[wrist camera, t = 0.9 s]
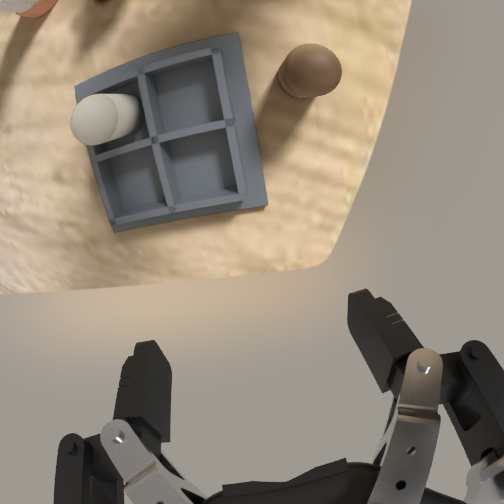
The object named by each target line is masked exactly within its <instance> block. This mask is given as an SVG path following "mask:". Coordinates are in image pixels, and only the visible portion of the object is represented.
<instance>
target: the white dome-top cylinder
mask: <svg viewBox="0 0 504 504" xmlns="http://www.w3.org/2000/svg"><path fill="white" fill-rule="evenodd" d="M144 119H145V113H144V108H143V103H142V101H141V100H140V99H139V98H138V97H137V96H135V95H132V94H93V95H90V96H88V97H86V98H84V99H83V100H81V101H80V102H79V103H78V104H77V106H76V107H75V109H74V110H73V113H72V116H71V122H70V124H71V130H72V133H73V135H74V136H75V138H76V139H77V140H78V141H80V142H81V143H83V144H86V145H98V144H102V143H105V142H108V141H111V140H114V139H117V138H120V137H124V136H127V135H130V134H133V133H135V132H136V131H137V130H138V129H139V128H140V127H141V125H142V124H143V122H144Z"/></svg>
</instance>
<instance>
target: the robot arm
mask: <svg viewBox="0 0 504 504" xmlns="http://www.w3.org/2000/svg"><path fill="white" fill-rule="evenodd" d="M347 321H348V327H349V330H350V333H351V335H352V337H353V339H354V340H355V342H356V344H357V346H358V348H359V349H360V351H361V353H362V355H363V357H364V359H365V361H366V363H367V365H368V366H369V368H370V370H371V372H372V374H373V376H374V378H375V380H376V381H377V384H378V386H379V388H380V389H381V391H382V393H384V392H387V391H389V390H391V391H392V393H393V395H394V396H393V399H392V403H391V407H390V411H389V415H388V418H387V421H386V425H385V428H384V431H383V435H382V438H381V440H380V443H379V445H378V447H377V450H376V452H375V455H374V458H373V460H372V463H371V464H369V463H362V462H350V463H347V461H346V458H344V459H341V460H338V461H334V462H331V463H328V464H325V465H322V466H318V467H315V468H313V469H311V470H310V471H308V472H306V473H304V474H302V475H300V476H298V477H296V478H293V479H291V480H289V481H287V482H258V481H250V482H243V483H236V484H227V485H222V488H223V491H220V492H218V493H216V494H214V495H212V496H210V497H207V496H205V494H203V493H202V492H201V491H200V490H199V489H198V488H197V487H195V486H194V485H193V484H191V483H190V482H189V481H188V480H187V479H186V478H185V477H184V476H183V475H182V473H180V471H179V470H178V469H177V468H176V467H175V466H174V465H173V463H172V462H171V461H170V460H169V459H168V458H167V457H166V455H165V454H164V453H163V452H162V451H161V443H162V442H170V415H171V414H170V413H171V385H172V371H171V367H170V364H169V362H168V361H167V359H166V357H165V356H164V354H163V353H162V351H161V349H160V348H159V346H158V344H157V343H156V342H155V341H154V340H151V341H145V342H139V343H136V345H135V349H134V355H133V356H129V357H128V358H127V360H126V361H125V364H124V365H123V367H122V371H121V376H120V377H121V379H120V381H119V388H118V392H117V398H116V404H115V410H114V417H113V420H112V421H110V422H108V423H107V424H106V425H105V426H104V427H103V429H102V431H101V433H100V434H97V435H95V436H91V437H88V438H85V439H83V438H82V437H81V436H79V435H77V434H74V433H71V434H68V435H66V436H64V438H63V439H62V440H61V441H60V444H59V449H58V456H57V465H56V474H55V487H54V504H124V490H125V492H126V494H127V495H128V497H129V498H130V500H131V501H132V502H133V504H504V370H503V369H502V367H501V366H500V364H499V363H498V361H497V360H496V358H495V357H494V355H493V354H492V352H491V351H490V350H489V348H488V347H487V346H486V345H485V344H484V343H482V342H480V341H477V340H472V341H468V342H467V343H465V344H464V345H463V346H462V348H461V350H460V351H459V352H453V353H447V354H438V353H437V352H436V351H434V350H432V349H428V348H424V347H423V346H422V345H421V343H420V342H419V340H418V339H417V338H416V336H415V335H414V333H413V332H412V331H411V329H410V328H409V327H408V325H407V324H406V323H405V321H403V318H402V317H401V316H400V315H399V314H398V313H397V311H396V309H395V308H394V307H393V305H392V304H391V303H390V302H388V301H386V300H385V299H383V298H382V297H379V298H376V299H375V298H374V297H373V296H372V294H371V293H370V291H369V290H368V289H363V290H359V291H356V292H353V293H350V294H349V295H348V316H347ZM439 404H443V405H444V407H445V409H446V411H447V413H448V415H449V417H450V419H451V422H452V424H453V426H454V427H455V430H456V432H457V434H458V437H459V439H460V441H461V443H462V445H463V447H464V450H465V452H466V455H467V457H468V459H469V462H470V464H471V469H470V470H469V472H468V474H467V479H466V485H467V495H466V497H465V499H464V501H461V500H458V499H455V498H452V497H449V496H447V495H444V494H441V493H439V492H436V491H433V490H431V489H429V488H426V487H425V486H426V482H427V479H428V476H429V472H430V468H431V465H432V461H433V456H434V452H435V448H436V443H437V439H438V434H439V428H440V422H441V417H440V415H438V405H439ZM123 479H124V481H125V483H126V485H124V484H123V483H124V482H123Z"/></svg>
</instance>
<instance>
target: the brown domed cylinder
mask: <svg viewBox="0 0 504 504" xmlns="http://www.w3.org/2000/svg"><path fill="white" fill-rule="evenodd" d="M341 75H342V69H341V64H340V62H339V60H338V58H337V57H336V55H335V54H334V53H333V52H332V51H331V50H329V49H328V48H326V47H324V46H321V45H318V44H304V45H300V46H298V47H296V48H294V49H293V50H292V51H291V52H290V53H289V54H288V56H287V57H286V59H285V60H284V62H283V63H282V65H281V66H280V68H279V71H278V82H279V85H280V87H281V88H282V90H283V91H284V92H285V93H287V94H288V95H290V96H292V97H295V98H309V97H316V96H321V95H325V94H327V93H329V92H331V91H332V90H334V89H335V88H336V86H337V85H338V84H339V82H340V79H341Z"/></svg>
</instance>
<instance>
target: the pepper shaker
mask: <svg viewBox="0 0 504 504" xmlns="http://www.w3.org/2000/svg"><path fill="white" fill-rule="evenodd" d="M56 2H57V0H0V10H3V11H9V12H16V14H17V15H20V16H25V17H30V18H38V17H40V16H42V15H44V14H45V13H46V12H48V11H49V10H50V9H51V8H52V7H53V6H54V4H55V3H56Z"/></svg>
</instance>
